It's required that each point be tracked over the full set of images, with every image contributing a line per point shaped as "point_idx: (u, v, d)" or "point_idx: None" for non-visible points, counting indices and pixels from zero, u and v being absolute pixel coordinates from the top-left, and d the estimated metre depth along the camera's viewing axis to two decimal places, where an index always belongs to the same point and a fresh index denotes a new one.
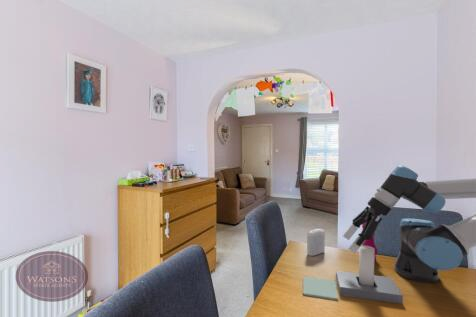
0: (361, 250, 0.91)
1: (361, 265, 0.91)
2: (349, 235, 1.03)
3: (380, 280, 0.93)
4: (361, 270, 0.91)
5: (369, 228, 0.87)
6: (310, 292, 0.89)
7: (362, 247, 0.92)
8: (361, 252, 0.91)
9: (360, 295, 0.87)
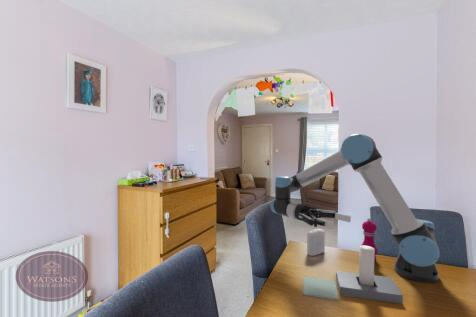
0: (361, 250, 0.91)
1: (361, 265, 0.91)
2: (345, 217, 1.04)
3: (380, 280, 0.93)
4: (361, 270, 0.91)
5: (306, 221, 1.01)
6: (310, 292, 0.89)
7: (362, 247, 0.92)
8: (361, 252, 0.91)
9: (360, 295, 0.87)
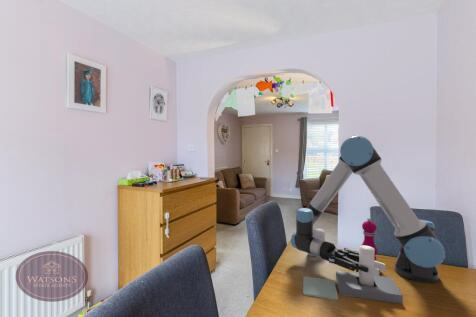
0: (361, 250, 0.91)
1: None
2: (379, 265, 0.90)
3: (380, 280, 0.93)
4: (361, 271, 0.91)
5: (343, 266, 0.92)
6: (310, 292, 0.89)
7: (362, 247, 0.92)
8: (361, 252, 0.91)
9: (360, 295, 0.87)
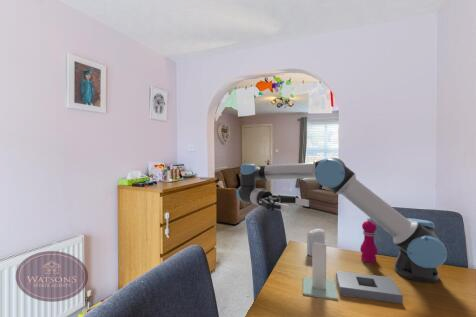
0: (313, 247, 0.92)
1: (313, 262, 0.92)
2: (304, 201, 1.05)
3: (380, 280, 0.93)
4: (314, 267, 0.92)
5: (264, 206, 1.02)
6: (310, 292, 0.89)
7: (315, 244, 0.93)
8: (313, 249, 0.92)
9: (360, 295, 0.87)
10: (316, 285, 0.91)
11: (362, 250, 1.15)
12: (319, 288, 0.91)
